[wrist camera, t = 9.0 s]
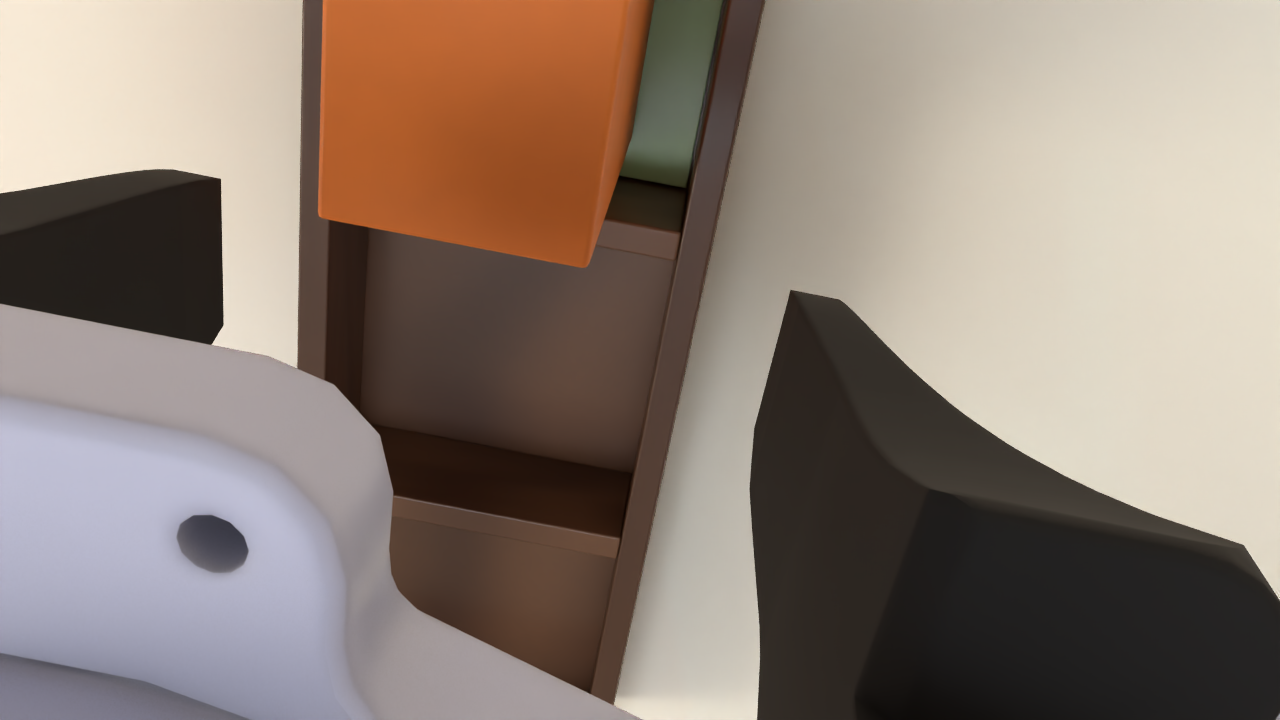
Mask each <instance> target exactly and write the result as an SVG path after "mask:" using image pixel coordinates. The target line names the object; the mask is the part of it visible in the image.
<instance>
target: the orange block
mask: <svg viewBox="0 0 1280 720" xmlns="http://www.w3.org/2000/svg"><path fill="white" fill-rule="evenodd" d="M653 6H654V0H323V17H322V60H321V103H320V146H319V188H318V214H319V217H321V218H323V219H328V220H333V221H338V222H343V223H349V224H354V225H359V226H364V227H370V228H375V229H380V230H385V231H391V232H396V233H401V234H406V235H412V236H417V237H422V238H427V239H433V240H438V241H443V242H448V243H454V244H459V245H464V246H469V247H475V248H480V249H485V250H490V251H496V252H501V253H506V254H511V255H517V256H522V257H527V258H532V259H537V260H543V261H548V262H553V263H558V264H564V265H569V266H574V267H579V268H586V267H587V266H588V264H589V263H590V260H591V257H592V254H593V251H594V248H595V245H596V242H597V239H598V236H599V233H600V230H601V227H602V224H603V221H604V218H605V215H606V212H607V209H608V206H609V203H610V200H611V198H612V195H613V192H614V189H615V186H616V183H617V180H618V177H619V174H620V171H621V168H622V165H623V162H624V159H625V156H626V153H627V150H628V147H629V144H630V141H631V138H632V132H633V126H634V120H635V114H636V108H637V102H638V96H639V90H640V84H641V78H642V72H643V66H644V60H645V54H646V48H647V42H648V36H649V30H650V24H651V18H652V12H653Z"/></svg>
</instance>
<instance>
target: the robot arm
mask: <svg viewBox="0 0 1280 720" xmlns="http://www.w3.org/2000/svg"><path fill="white" fill-rule="evenodd" d="M222 326H223V271H222V216H221V179H219V178H213V177H208V176H203V175H198V174H193V173H188V172H183V171H178V170H166V169H156V170H143V171H134V172H126V173H119V174H112V175H106V176H100V177H94V178H88V179H83V180H77V181H71V182H66V183H60V184H55V185H49V186H43V187H38V188H32V189H26V190H20V191H14V192H7V193H1V194H0V720H642V719H640V718H638V717H636V716H634V715H632V714H630V713H628V712H626V711H624V710H622V709H620V708H618V707H616V706H614V705H612V704H609V703H607V702H605V701H603V700H601V699H599V698H597V697H595V696H593V695H591V694H589V693H587V692H585V691H583V690H581V689H579V688H577V687H575V686H573V685H571V684H569V683H566V682H564V681H562V680H560V679H558V678H556V677H554V676H552V675H550V674H548V673H546V672H544V671H542V670H540V669H538V668H536V667H534V666H532V665H530V664H528V663H526V662H524V661H521V660H519V659H517V658H515V657H513V656H511V655H509V654H507V653H505V652H503V651H501V650H499V649H497V648H495V647H493V646H491V645H489V644H487V643H485V642H483V641H481V640H478V639H476V638H474V637H472V636H470V635H468V634H466V633H464V632H462V631H460V630H458V629H456V628H454V627H452V626H450V625H448V624H446V623H444V622H442V621H440V620H438V619H436V618H433V617H431V616H429V615H427V614H425V613H423V612H421V611H419V610H418V609H416V608H415V607H414V606H413V605H412V604H411V603H410V602H409V601H408V600H407V599H406V598H405V597H404V596H403V595H402V594H401V593H400V592H399V590H398V589H397V586H396V584H395V582H394V579H393V577H392V575H391V564H390V553H389V544H390V530H391V517H392V503H393V488H392V484H391V480H390V476H389V471H388V467H387V463H386V459H385V454H384V450H383V446H382V442H381V438H380V435H379V434H378V432H377V431H376V430H375V429H374V428H373V427H372V426H371V425H370V424H369V423H368V421H367V420H366V419H365V418H364V417H363V416H362V415H361V414H360V413H359V412H358V410H357V409H356V408H355V407H354V406H353V405H352V404H351V403H350V402H349V401H348V399H347V398H346V397H345V396H344V395H343V394H342V393H341V392H340V391H339V389H338V388H337V387H336V386H335V385H334V384H331V383H329V382H327V381H324V380H322V379H320V378H317V377H315V376H313V375H311V374H308V373H306V372H304V371H301V370H299V369H297V368H294V367H292V366H290V365H287V364H285V363H283V362H280V361H278V360H276V359H274V358H271V357H269V356H265V355H260V354H254V353H249V352H244V351H239V350H234V349H229V348H224V347H219V346H214V345H212V343H213V341H214V340H215V338H216V336H217V335H218V333H219V331H220V330H221V328H222ZM750 504H751V518H752V533H753V546H754V559H755V572H756V585H757V598H758V611H759V624H760V672H759V693H758V715H757V720H1280V600H1279V599H1278V597H1277V596H1276V594H1275V593H1274V591H1273V590H1272V588H1271V586H1270V585H1269V583H1268V582H1267V580H1266V579H1265V577H1264V576H1263V574H1262V573H1261V571H1260V570H1259V568H1258V566H1257V565H1256V563H1255V562H1254V560H1253V559H1252V557H1251V556H1250V554H1249V553H1248V551H1247V550H1246V548H1245V547H1244V545H1242V544H1239V543H1236V542H1233V541H1230V540H1227V539H1224V538H1221V537H1218V536H1215V535H1212V534H1209V533H1206V532H1203V531H1200V530H1197V529H1194V528H1191V527H1188V526H1185V525H1182V524H1179V523H1176V522H1173V521H1170V520H1167V519H1164V518H1161V517H1158V516H1155V515H1152V514H1150V513H1147V512H1145V511H1142V510H1140V509H1137V508H1135V507H1133V506H1130V505H1128V504H1125V503H1123V502H1121V501H1118V500H1116V499H1114V498H1111V497H1109V496H1107V495H1104V494H1102V493H1099V492H1097V491H1095V490H1093V489H1091V488H1089V487H1087V486H1085V485H1082V484H1080V483H1078V482H1076V481H1074V480H1072V479H1070V478H1068V477H1066V476H1064V475H1062V474H1060V473H1058V472H1056V471H1055V470H1053V469H1051V468H1049V467H1047V466H1045V465H1044V464H1042V463H1040V462H1038V461H1036V460H1034V459H1033V458H1031V457H1029V456H1027V455H1025V454H1024V453H1022V452H1020V451H1019V450H1017V449H1015V448H1014V447H1012V446H1010V445H1009V444H1007V443H1005V442H1004V441H1002V440H1001V439H999V438H998V437H996V436H995V435H993V434H992V433H990V432H989V431H988V430H986V429H985V428H983V427H982V426H980V425H979V424H977V423H976V422H974V421H973V420H972V419H970V418H969V417H967V416H966V415H965V414H963V413H962V412H961V411H959V410H958V409H957V408H955V407H954V406H953V405H952V404H950V403H949V402H948V401H947V400H945V399H944V398H943V397H942V396H941V395H940V394H938V393H937V392H936V391H935V390H934V389H933V388H931V387H930V386H929V385H928V384H927V383H925V382H924V381H923V380H922V379H921V378H920V377H919V376H918V375H917V374H916V373H914V372H913V371H912V370H911V369H910V368H909V367H908V366H907V365H906V364H905V363H904V362H903V361H902V360H901V359H900V358H899V357H898V356H897V355H896V354H895V353H894V352H893V351H892V350H891V349H890V348H889V347H888V346H887V345H886V344H885V343H884V342H883V341H882V340H881V339H880V338H879V337H878V336H877V335H876V334H875V333H874V332H873V331H872V330H871V329H870V328H869V327H868V326H867V325H866V324H865V323H864V322H863V321H862V320H861V319H860V318H859V317H858V316H857V315H856V314H855V313H854V312H853V311H852V310H851V309H850V308H849V307H848V306H847V305H846V304H845V303H843V302H842V301H841V300H839V299H834V298H829V297H823V296H818V295H813V294H808V293H803V292H798V291H793V290H791V291H790V295H789V298H788V302H787V306H786V310H785V314H784V317H783V321H782V325H781V329H780V333H779V336H778V340H777V344H776V348H775V352H774V356H773V359H772V363H771V367H770V371H769V375H768V378H767V382H766V386H765V390H764V394H763V398H762V401H761V405H760V409H759V413H758V417H757V420H756V424H755V428H754V439H753V451H752V463H751V478H750Z"/></svg>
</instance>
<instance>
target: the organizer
mask: <svg viewBox="0 0 1280 720" xmlns="http://www.w3.org/2000/svg"><path fill="white" fill-rule="evenodd" d="M764 5H765V0H654V6H653V12H652V18H651V24H650V30H649V36H648V42H647V48H646V54H645V60H644V66H643V72H642V78H641V84H640V90H639V96H638V102H637V108H636V114H635V120H634V126H633V132H632V138H631V141H630V144H629V147H628V150H627V153H626V156H625V159H624V162H623V165H622V168H621V171H620V174H619V177H618V180H617V183H616V186H615V189H614V192H613V195H612V198H611V200H610V203H609V206H608V209H607V212H606V215H605V218H604V221H603V224H602V227H601V230H600V233H599V236H598V239H597V242H596V245H595V248H594V251H593V254H592V257H591V260H590V263H589V264H588V266H587V267H586V268H579V267H574V266H569V265H564V264H558V263H553V262H548V261H543V260H537V259H532V258H527V257H522V256H517V255H511V254H506V253H501V252H496V251H490V250H485V249H480V248H475V247H469V246H464V245H459V244H454V243H448V242H443V241H438V240H433V239H427V238H422V237H417V236H412V235H406V234H401V233H396V232H391V231H385V230H380V229H375V228H370V227H364V226H359V225H354V224H349V223H343V222H338V221H333V220H328V219H323V218H321V217H319V214H318V188H319V146H320V103H321V60H322V17H323V0H303V22H302V90H301V158H300V227H299V295H298V363H297V369H299V370H301V371H304V372H306V373H308V374H311V375H313V376H315V377H317V378H320V379H322V380H324V381H327V382H329V383H331V384H334V385H335V386H336V387H337V388H338V389H339V391H340V392H341V393H342V394H343V395H344V396H345V397H346V398H347V399H348V401H349V402H350V403H351V404H352V405H353V406H354V407H355V408H356V409H357V410H358V412H359V413H360V414H361V415H362V416H363V417H364V418H365V419H366V420H367V421H368V423H369V424H370V425H371V426H372V427H373V428H374V429H375V430H376V431H377V432H378V434H379V435H380V438H381V442H382V446H383V450H384V454H385V459H386V463H387V467H388V471H389V476H390V480H391V484H392V488H393V503H392V517H391V530H390V544H389V553H390V564H391V575H392V577H393V579H394V582H395V584H396V586H397V589H398V590H399V592H400V593H401V594H402V595H403V596H404V597H405V598H406V599H407V600H408V601H409V602H410V603H411V604H412V605H413V606H414V607H415V608H416V609H418V610H419V611H421V612H423V613H425V614H427V615H429V616H431V617H433V618H436V619H438V620H440V621H442V622H444V623H446V624H448V625H450V626H452V627H454V628H456V629H458V630H460V631H462V632H464V633H466V634H468V635H470V636H472V637H474V638H476V639H478V640H481V641H483V642H485V643H487V644H489V645H491V646H493V647H495V648H497V649H499V650H501V651H503V652H505V653H507V654H509V655H511V656H513V657H515V658H517V659H519V660H521V661H524V662H526V663H528V664H530V665H532V666H534V667H536V668H538V669H540V670H542V671H544V672H546V673H548V674H550V675H552V676H554V677H556V678H558V679H560V680H562V681H564V682H566V683H569V684H571V685H573V686H575V687H577V688H579V689H581V690H583V691H585V692H587V693H589V694H591V695H593V696H595V697H597V698H599V699H601V700H603V701H605V702H607V703H609V704H612V705H614V702H615V697H616V692H617V688H618V683H619V678H620V674H621V669H622V664H623V660H624V655H625V651H626V646H627V641H628V637H629V632H630V627H631V623H632V618H633V613H634V609H635V604H636V599H637V595H638V590H639V586H640V581H641V576H642V572H643V567H644V562H645V558H646V553H647V548H648V544H649V539H650V534H651V530H652V525H653V520H654V516H655V511H656V507H657V502H658V497H659V493H660V488H661V483H662V479H663V474H664V469H665V465H666V460H667V455H668V451H669V446H670V442H671V437H672V432H673V428H674V423H675V418H676V414H677V409H678V404H679V400H680V395H681V390H682V386H683V381H684V376H685V372H686V367H687V363H688V358H689V353H690V349H691V344H692V339H693V335H694V330H695V325H696V321H697V316H698V311H699V307H700V302H701V298H702V293H703V288H704V284H705V279H706V274H707V270H708V265H709V260H710V256H711V251H712V246H713V242H714V237H715V232H716V228H717V223H718V219H719V214H720V209H721V205H722V200H723V195H724V191H725V186H726V181H727V177H728V172H729V167H730V163H731V158H732V154H733V149H734V144H735V140H736V135H737V130H738V126H739V121H740V116H741V112H742V107H743V102H744V98H745V93H746V88H747V84H748V79H749V75H750V70H751V65H752V61H753V56H754V51H755V47H756V42H757V37H758V33H759V28H760V23H761V19H762V14H763V9H764Z"/></svg>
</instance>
